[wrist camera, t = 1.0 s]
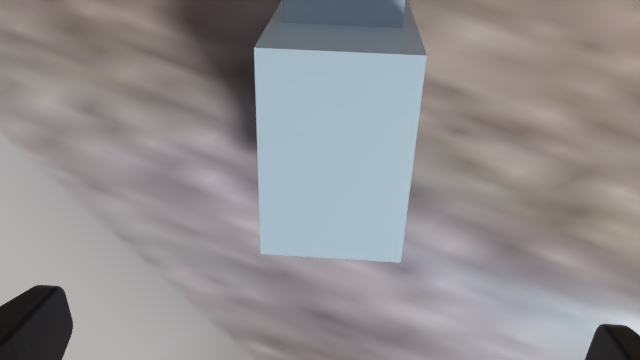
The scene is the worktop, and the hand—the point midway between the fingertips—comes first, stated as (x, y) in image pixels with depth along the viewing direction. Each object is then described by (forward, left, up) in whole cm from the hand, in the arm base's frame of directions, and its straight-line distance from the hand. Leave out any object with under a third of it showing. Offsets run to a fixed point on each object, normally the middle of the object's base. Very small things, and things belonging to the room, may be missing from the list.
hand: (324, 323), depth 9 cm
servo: (0, 0, -11) cm, 11 cm away
